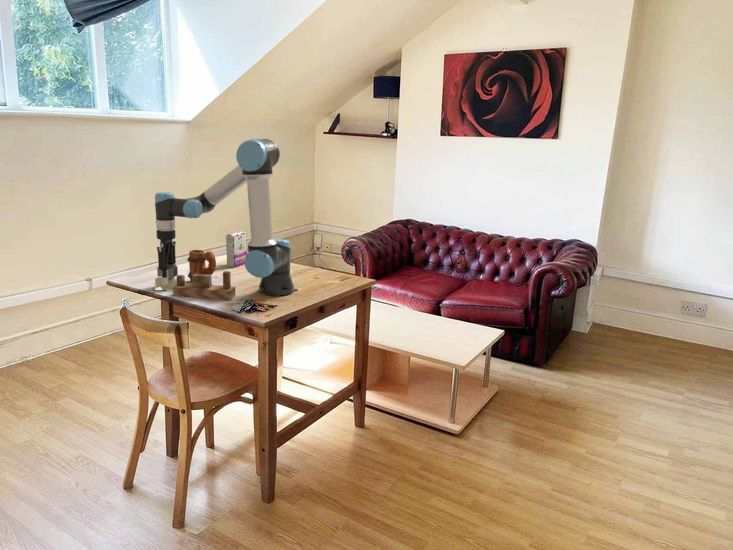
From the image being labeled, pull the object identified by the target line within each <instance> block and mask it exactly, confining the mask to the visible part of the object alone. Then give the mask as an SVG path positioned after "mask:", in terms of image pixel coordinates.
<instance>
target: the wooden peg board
mask: <svg viewBox="0 0 733 550" xmlns="http://www.w3.org/2000/svg"><path fill="white" fill-rule="evenodd" d="M176 278H177V285H175V286H174V287H173V292H172V297H173V296H177V297H176V298H186V297H187V299H191V298H192V299H201V300H202V299H205V300H217V301H228V302H229V301H230V302H231V301H232V300H233V299H234V298H235V297H236V295H237V294H236V286H232V285H231V271H228V270H226V271H225V270H224V271H223V272H222V285H219V284H217V285H216V284H212V283H213V282H212V275H207V274H194V275H192V282H191V283H190V282H189V283H187V282H186V279H185V278H186V277H185V275H183V274H178V275H177V276H176Z"/></svg>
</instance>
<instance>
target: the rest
mask: <svg viewBox="0 0 733 550" xmlns="http://www.w3.org/2000/svg"><path fill="white" fill-rule="evenodd" d="M154 281H155V285H154V286H155V287H157V288H158V287H161V288H162V290H166V291H165V292H171V291H173V287H174V286H175V285H177V277H174V278H169V285H164V284H162V277H159V276H157V277H156V278H155V279H154Z"/></svg>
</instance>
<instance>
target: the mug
mask: <svg viewBox="0 0 733 550" xmlns="http://www.w3.org/2000/svg"><path fill="white" fill-rule="evenodd" d="M188 255H189V256H188V258H187V262H189V263H188V265H189V272H188V274H187V277H188V278H189V281H190V282H191V283H192V275H194V274H207V275H211V276H212V275H213V274H214V273H215V270H216V267H217V261H216V257H215V255H214V253H213V251H210V250H207V251H206V252H205V251H204V250H202V249H191V250H189V253H188ZM206 262H208V266H207V267H206Z"/></svg>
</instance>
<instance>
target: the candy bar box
mask: <svg viewBox="0 0 733 550" xmlns="http://www.w3.org/2000/svg"><path fill="white" fill-rule="evenodd" d="M225 242H226V243H225V244H226V245H225V247H226V249H225V250H226V267H227V268H234V269H235V268H238V267H241V266H244V265H245V264H244V260H245V257H246V255H247V254H248V243H247V242H248V241H247V231H246V232H245V231H236V232H232V233H229V234H226V235H225ZM243 264H244V265H243ZM240 265H241V266H240Z"/></svg>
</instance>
